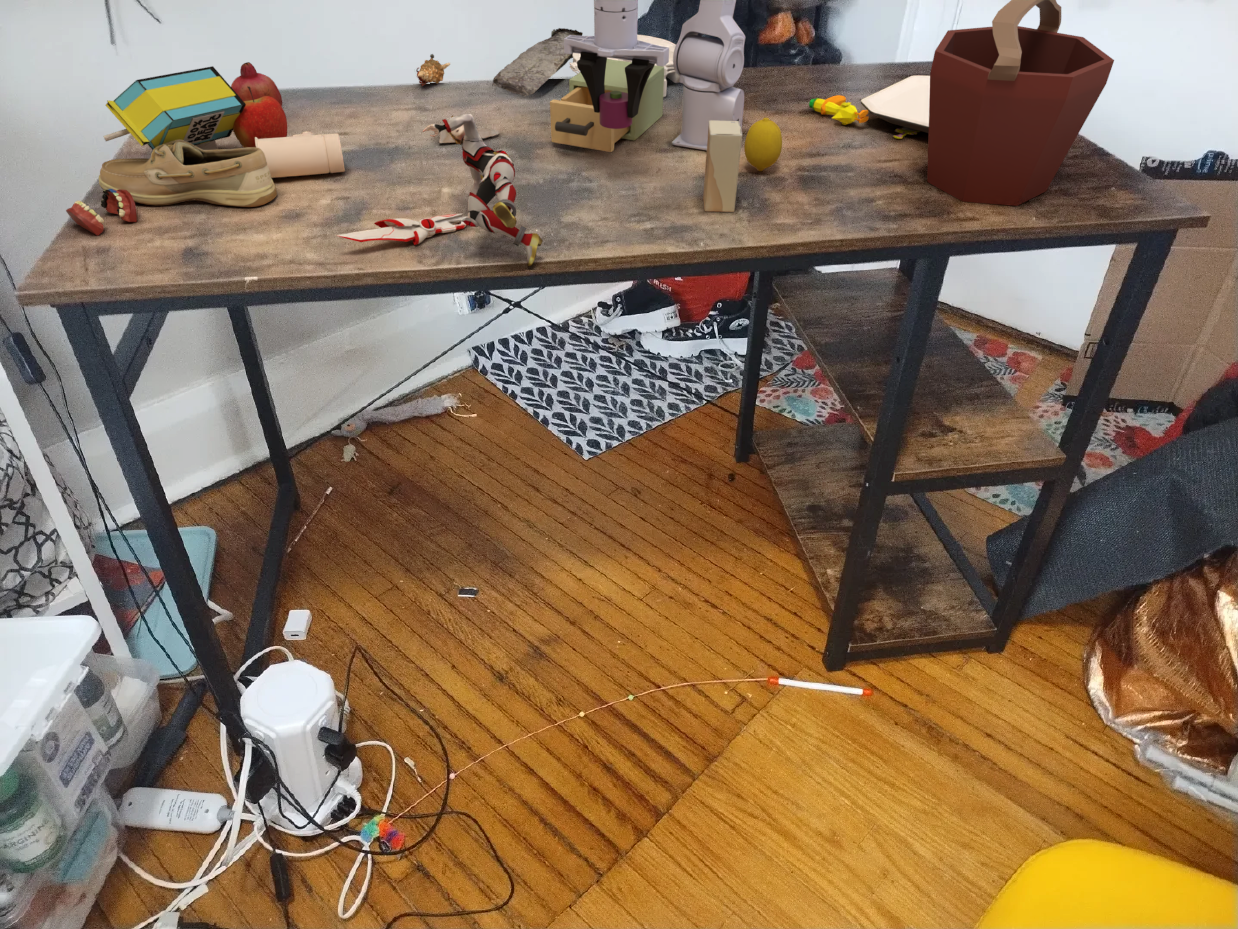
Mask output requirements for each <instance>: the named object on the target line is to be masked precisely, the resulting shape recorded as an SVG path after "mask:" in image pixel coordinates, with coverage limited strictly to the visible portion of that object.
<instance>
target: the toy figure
mask: <svg viewBox="0 0 1238 929" xmlns="http://www.w3.org/2000/svg"><path fill="white" fill-rule="evenodd" d="M808 107H809V108H810V109H812V111H814V112H817V113H820V114H821V115H823V116H824V115H827V116H828V115H829V116H832V117H831V119H833V120H836V121H838V122H839V123H841V125H843V126H847V125H850V124H852V123H854V122H856V121H857V122H858V123H859V124H864V123H866V122H867V121H868V120H869V119H870V118H869V115H868V114H869V111H868V110H867V109H862V110H860V112H858V110H857V107H856V105H854V104H852V102H849V101H848V102H847V98H846V96H844V95H841V94H836V95H833V96H830V97H828V98H826V99H824V98H820V97H816V98H811V99H810V100H809V103H808Z"/></svg>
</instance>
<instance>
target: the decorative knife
mask: <svg viewBox="0 0 1238 929" xmlns="http://www.w3.org/2000/svg"><path fill="white" fill-rule="evenodd" d="M895 131H896V133H899V134H896V135H892V137H893V138H894V139H898V140H903V139H904V137H905V136H907V135H909V136H915V135H918V133H921V132H922V131H918V130H914V129H911V128H907V127H903V126H902V127H901V128H900V127H899V128H898V127H897V128H896V129H895Z"/></svg>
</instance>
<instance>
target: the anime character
mask: <svg viewBox="0 0 1238 929" xmlns="http://www.w3.org/2000/svg"><path fill="white" fill-rule="evenodd" d="M441 121H442V122H443V124H437V123H432V124H429V125H427V126H426V127H425V128H424V129H423V130H422V133H425V132H429V131H431V132H433V133H434V134H429V136H430V137H431V138H435V137H437V136H438V135H440V132H441V131H443V130H445V129H446V131H447V132H448V133H449V134H450V135H451V137H452V138H453V141H454V140H455V142H454V143H455V144H456V145H461V150H462V161H463V163H464V164H465V165H466V166H467V167H468V168H469V170H470V174H471V175H470V176H471V178H472V180H473V184H472V185H473V186H472V188H471V190H470V192H469V193H468V198H467V199H468V200H467V210H468V211H467V215H465V216H464V213H448V214H442V215H435V216H431V217H427V218H421V219H420V220H419V221H418V220H414V219H410V218H402V217H396V218H386V219H382V220H377V221H375V222H374V223H373V224H374V225H375V226H377V227H378V228H372V229H365V230H359V231H353V232H346V233H341V234H335V235H334V236H336V237H340V238H343V239H347V240H350V241H353V242H358V243H365V242H373V241H375V242H376V241H397V242H405V243H407V242H411V241H412V243H413V245H414V246H417V245H419V244H420V243H422V242H423V241H424V240H425V239H426V238H431V237H434V235H435V234H439V233H440V234H444V233H452V232H456V231H457V230H458V231H459V230H464V229H465V228H466V227H471V228H481V229H482V230H484V231H486V232H489V233H493V234H496V233H497V234H500V235H503V236H506V237H508V238H510V239H512V240H513V243H512V244H513V245H515V246H516V247H519V246H520V245H521V246H523V247H524V248H525V251H526V262H527V264H526V265H527V266H528V267H532V266H533V264H534V262H535V260H536V257H537V250H538V247H541V246H542V245H543V239H542V237H541V236H540V235H539V234H538V232H539V230H538V229H535V232H530V233H527V232H526V231H527V229H528V228H527V227H525V226H523V225H521V226H520V227H519V228H518V227H517V226H516V225H517V222H518V221H517V218H516V216H517V207H516V204H515V202H516V198H517V189H516V188H515V187H514V185H513V182H514V180H515V177H516V169H515V164H514V163H513V161H512V159H511V158H510V155H509V154H508V152H506V151H505V150H503V149H501V150H500V149H499V150H494V149H493V148H491V147H490V146H488V145H486V144H485V142H484V140H483V138H481V137H480V135H479V133H478V130H477V128H478V127H477V124H476V120H475V118H474V115H473V114H472V113H463V114H459V115H453V114H452V115H451V117H447V118H444V119H442V120H441ZM494 197H496V199H497V202H496V203H494V205H493V206H492V210H491V208H490V207H489V206H488V205H489V203H490V202H491V201H492V200H493V199H494ZM511 210H512V211H511ZM458 222H460V223H459V224H457V223H458Z"/></svg>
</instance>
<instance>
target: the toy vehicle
mask: <svg viewBox="0 0 1238 929" xmlns="http://www.w3.org/2000/svg"><path fill="white" fill-rule="evenodd" d="M637 40H639V41H643V42H647V43H651V44H654V45H658V46H663V47H669V62H668V63H667V64H666V65H665V66H663V67H664V89H663V98H665V97H667V88H668V87H667V86H668V80H667V79H669V80H670V81H672V82H673V83H675V84H678V83H680V76H679V75H678V74H677V73H676V72H675V69H674V64H673V54H674V49H675V46H676V44H677V43H673V42H672V41H669V40H667V39H663V38H660V37H655V36H651V35H650V36H649V35H644V34H637ZM580 57H581V55H580V54H578V53H573V58H572V62H569V69H570V70H571V71H572V72H574V73H575V74H576V75H577V74H578V73H580V71H579V69H578V67H577V61H578V60H580ZM607 59H611V60H618V61H626V62H632V61H630V60H623V59H615V58H608V57H607ZM655 66H657V65H656V64H655Z"/></svg>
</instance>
